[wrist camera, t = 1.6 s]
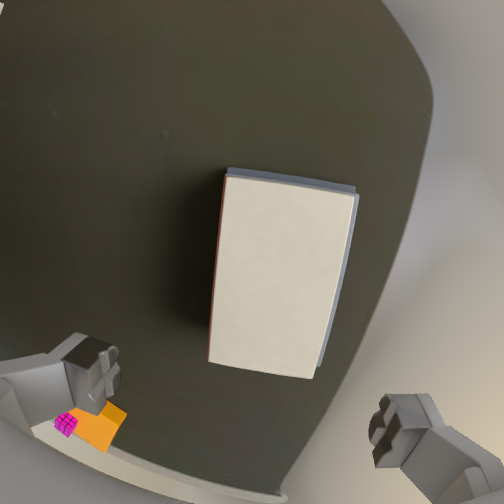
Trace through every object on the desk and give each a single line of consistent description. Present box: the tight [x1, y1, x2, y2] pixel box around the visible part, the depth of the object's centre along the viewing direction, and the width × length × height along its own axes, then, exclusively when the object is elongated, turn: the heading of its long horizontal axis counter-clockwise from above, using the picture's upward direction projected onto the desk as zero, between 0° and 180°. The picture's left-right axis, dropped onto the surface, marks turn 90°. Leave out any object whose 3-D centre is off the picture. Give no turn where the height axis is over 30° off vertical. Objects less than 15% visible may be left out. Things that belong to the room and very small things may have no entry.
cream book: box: [207, 176, 354, 379], centre depth 17 cm, size 11×7×2 cm, turn 173°
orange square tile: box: [55, 400, 127, 453], centre depth 26 cm, size 8×8×4 cm
